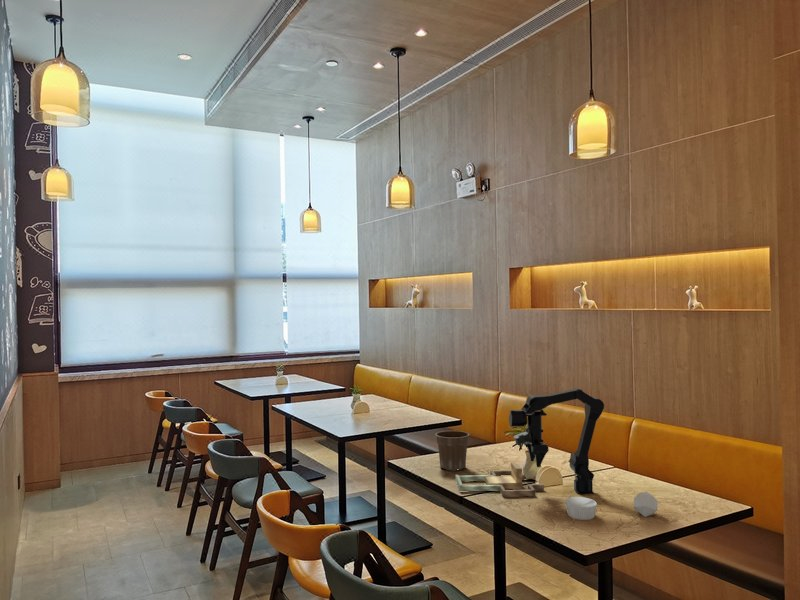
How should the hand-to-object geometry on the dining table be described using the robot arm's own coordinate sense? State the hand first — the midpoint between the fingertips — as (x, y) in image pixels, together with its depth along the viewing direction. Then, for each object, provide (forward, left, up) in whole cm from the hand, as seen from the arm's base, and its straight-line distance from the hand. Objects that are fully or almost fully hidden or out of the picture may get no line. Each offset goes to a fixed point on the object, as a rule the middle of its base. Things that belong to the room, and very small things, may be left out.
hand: (535, 464), depth 247 cm
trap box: (+13, -10, -12) cm, 21 cm away
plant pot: (+30, -40, -12) cm, 52 cm away
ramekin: (-10, +27, -12) cm, 31 cm away
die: (-34, +27, -12) cm, 45 cm away
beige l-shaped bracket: (+11, -11, -12) cm, 20 cm away
